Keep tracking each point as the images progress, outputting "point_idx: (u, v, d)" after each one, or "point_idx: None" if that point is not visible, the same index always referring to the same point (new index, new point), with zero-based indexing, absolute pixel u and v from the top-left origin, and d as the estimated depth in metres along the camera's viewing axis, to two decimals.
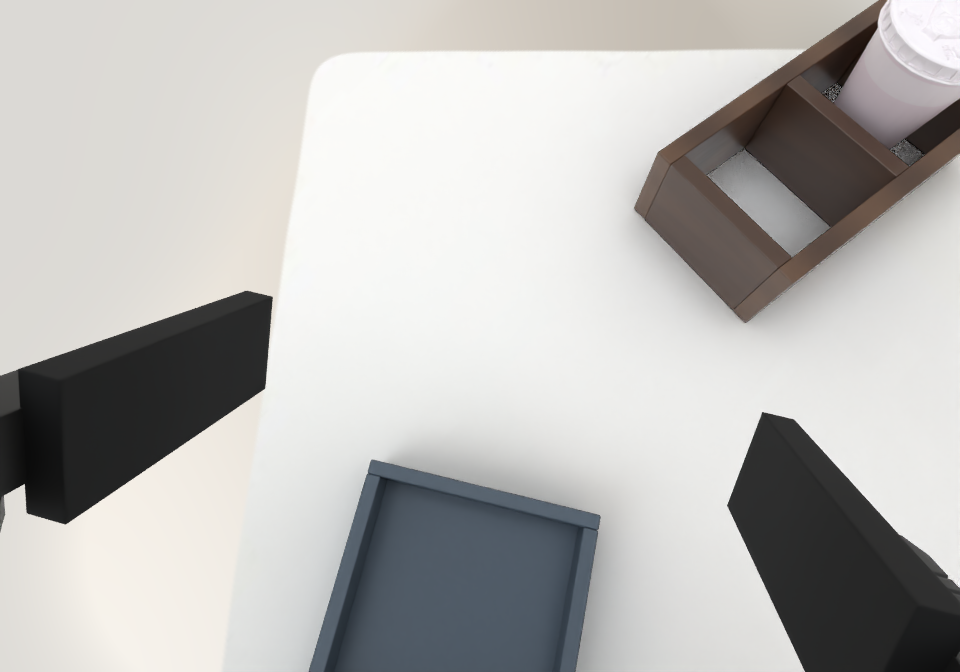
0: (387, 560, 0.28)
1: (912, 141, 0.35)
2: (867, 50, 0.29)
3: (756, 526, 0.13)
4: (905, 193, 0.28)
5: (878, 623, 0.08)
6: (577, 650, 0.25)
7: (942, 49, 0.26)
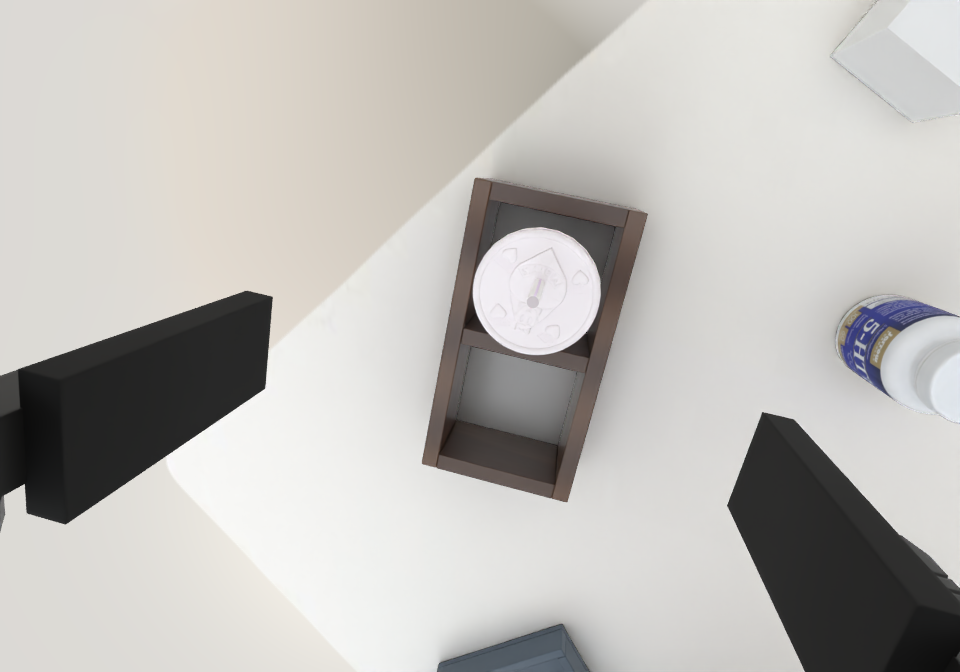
0: None
1: None
2: None
3: (756, 526, 0.13)
4: (598, 384, 0.32)
5: (878, 623, 0.08)
6: None
7: (539, 337, 0.28)
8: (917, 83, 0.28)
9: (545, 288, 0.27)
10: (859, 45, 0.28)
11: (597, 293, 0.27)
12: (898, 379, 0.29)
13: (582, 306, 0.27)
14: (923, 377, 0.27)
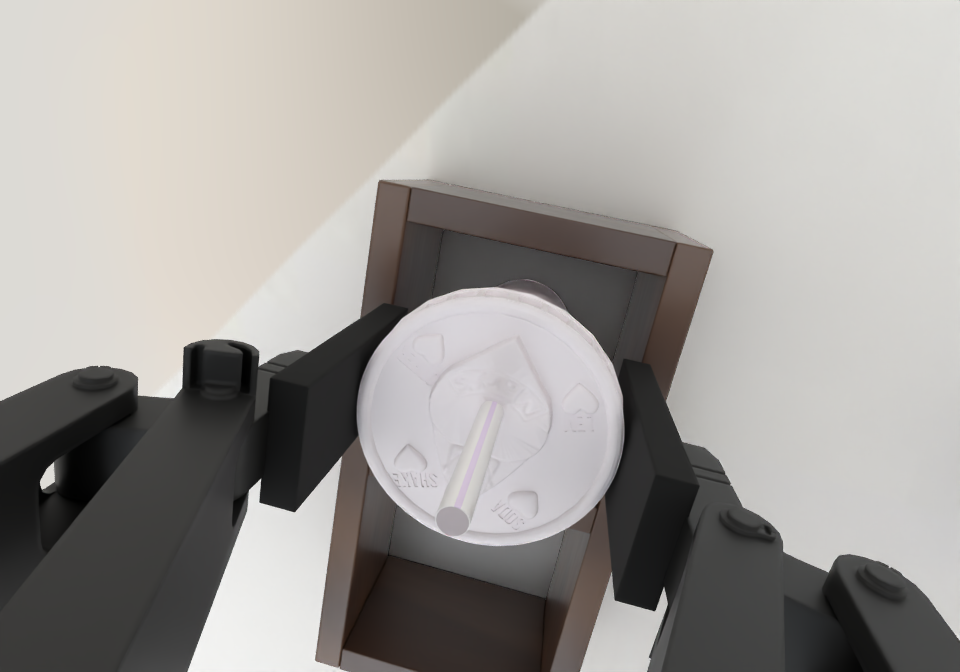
0: None
1: None
2: None
3: None
4: None
5: (640, 497, 0.10)
6: None
7: (495, 513, 0.14)
8: None
9: (505, 421, 0.13)
10: None
11: (618, 433, 0.12)
12: None
13: (585, 457, 0.13)
14: None
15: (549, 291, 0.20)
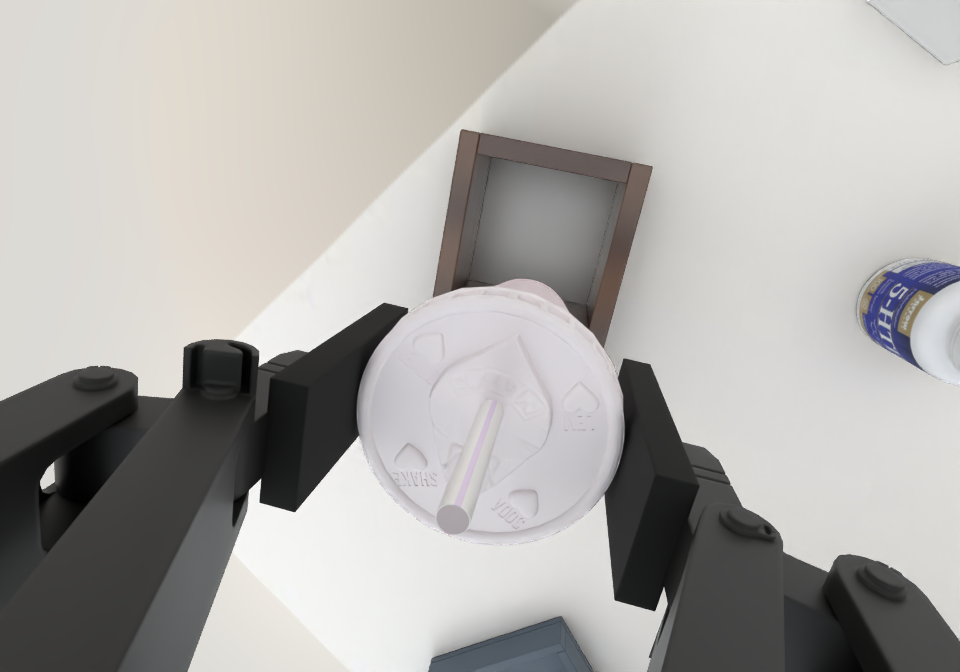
0: None
1: None
2: None
3: None
4: None
5: (640, 497, 0.10)
6: None
7: (496, 511, 0.14)
8: (956, 14, 0.24)
9: (505, 420, 0.13)
10: None
11: (618, 432, 0.12)
12: (930, 348, 0.26)
13: (585, 456, 0.13)
14: None
15: (549, 290, 0.20)
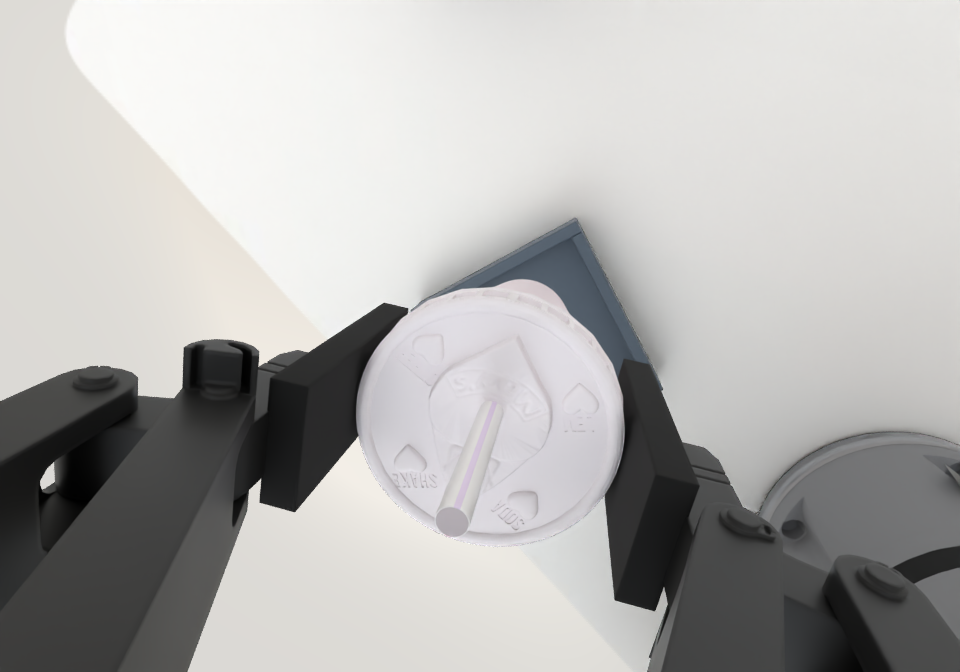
0: None
1: None
2: None
3: None
4: None
5: (640, 497, 0.10)
6: (621, 310, 0.33)
7: (495, 513, 0.13)
8: None
9: (505, 421, 0.12)
10: None
11: (618, 434, 0.12)
12: None
13: (585, 457, 0.13)
14: None
15: (549, 291, 0.20)
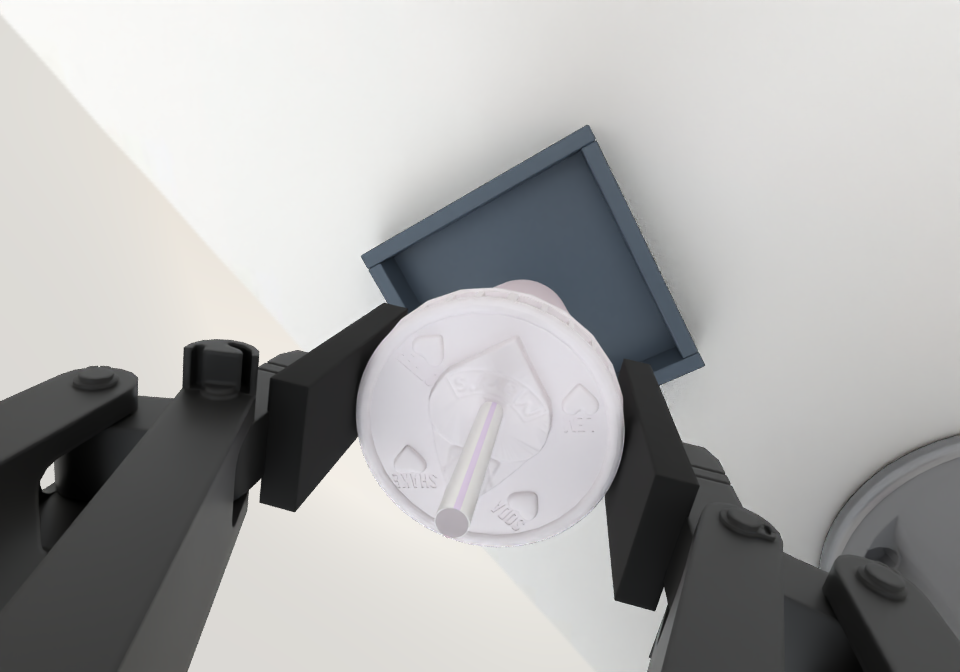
0: None
1: None
2: None
3: None
4: None
5: (640, 497, 0.10)
6: (649, 253, 0.23)
7: (495, 513, 0.13)
8: None
9: (505, 421, 0.12)
10: None
11: (618, 434, 0.12)
12: None
13: (585, 458, 0.13)
14: None
15: (549, 291, 0.20)
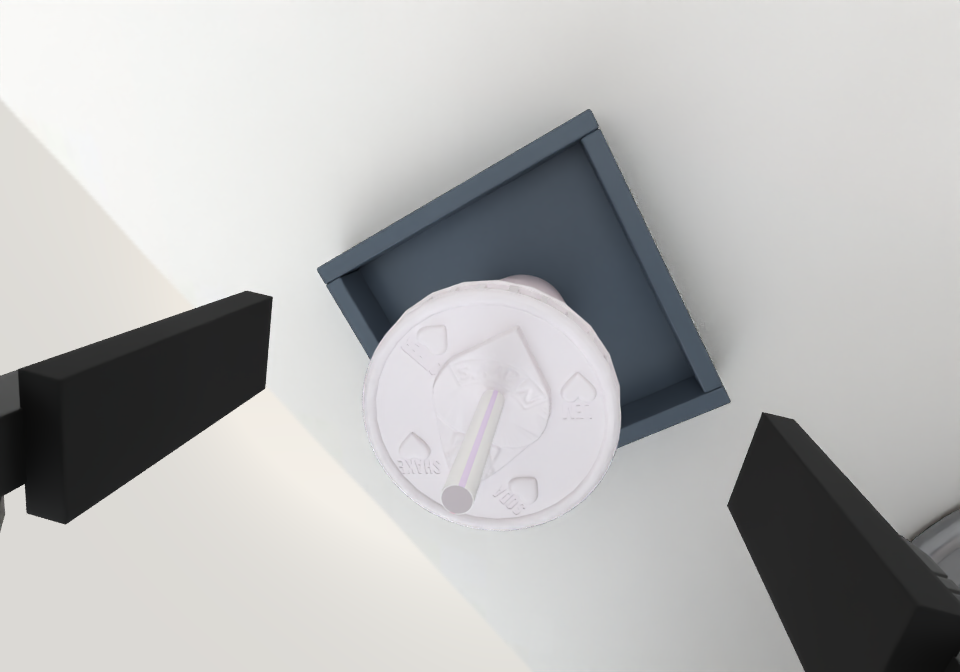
0: None
1: None
2: None
3: (756, 526, 0.13)
4: None
5: (878, 623, 0.08)
6: (664, 267, 0.19)
7: (497, 498, 0.14)
8: None
9: (506, 409, 0.13)
10: None
11: (615, 420, 0.13)
12: None
13: (583, 444, 0.13)
14: None
15: (548, 286, 0.20)
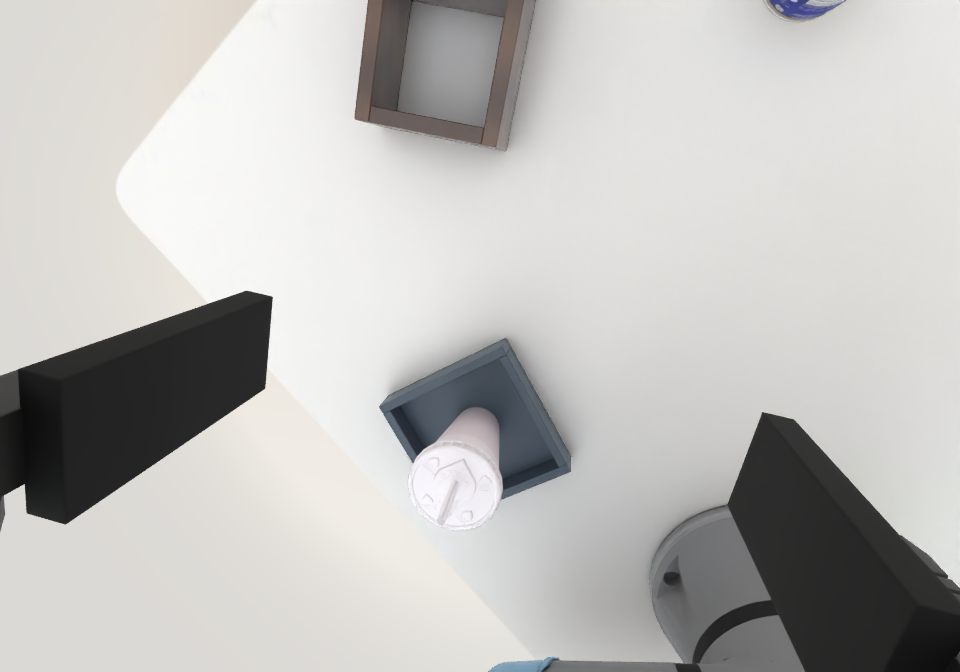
0: (430, 433, 0.47)
1: None
2: None
3: (756, 526, 0.13)
4: (522, 5, 0.33)
5: (878, 623, 0.08)
6: (537, 412, 0.43)
7: (458, 518, 0.38)
8: None
9: (460, 487, 0.37)
10: None
11: (498, 491, 0.36)
12: None
13: (488, 499, 0.37)
14: None
15: (487, 417, 0.44)
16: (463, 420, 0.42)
